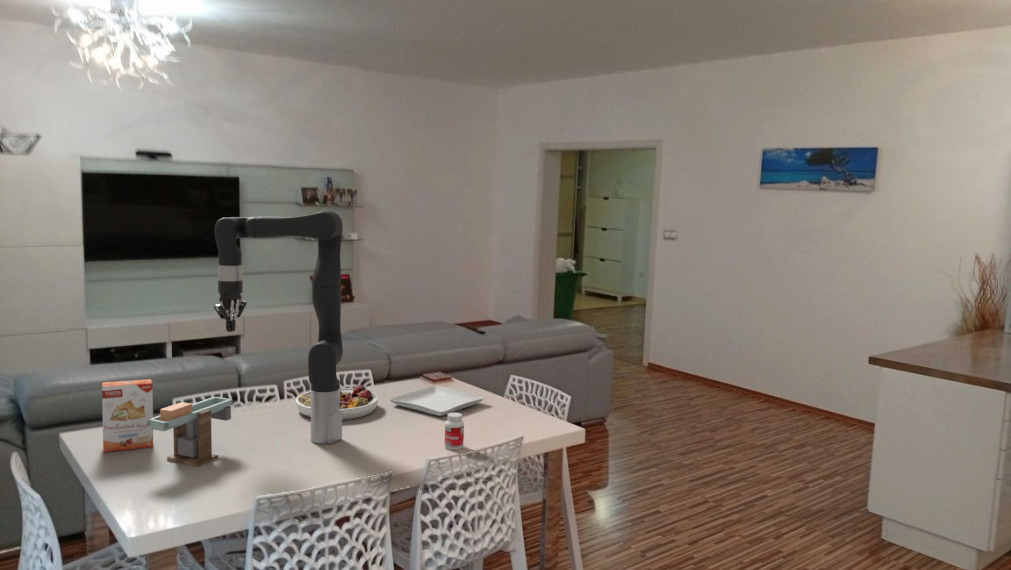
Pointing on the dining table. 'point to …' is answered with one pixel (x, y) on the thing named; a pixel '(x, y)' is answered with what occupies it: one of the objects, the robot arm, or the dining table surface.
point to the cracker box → (127, 415)
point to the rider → (175, 411)
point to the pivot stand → (203, 442)
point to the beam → (194, 422)
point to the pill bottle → (454, 431)
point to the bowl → (345, 402)
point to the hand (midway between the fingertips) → (230, 331)
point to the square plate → (437, 400)
